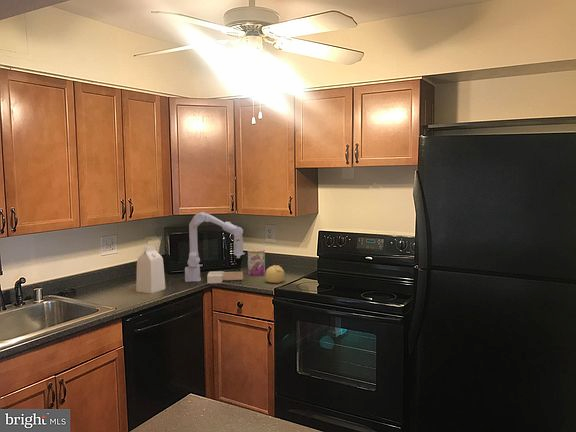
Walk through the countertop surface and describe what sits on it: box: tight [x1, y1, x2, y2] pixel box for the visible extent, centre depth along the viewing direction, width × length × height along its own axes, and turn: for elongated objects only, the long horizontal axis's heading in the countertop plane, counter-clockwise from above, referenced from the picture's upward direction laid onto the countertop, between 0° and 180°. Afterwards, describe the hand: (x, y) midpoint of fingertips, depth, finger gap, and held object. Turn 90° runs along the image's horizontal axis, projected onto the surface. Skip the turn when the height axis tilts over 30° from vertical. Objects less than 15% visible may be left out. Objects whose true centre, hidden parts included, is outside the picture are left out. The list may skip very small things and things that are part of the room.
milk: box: [135, 245, 166, 294], centre depth 274 cm, size 12×12×26 cm
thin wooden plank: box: [221, 271, 244, 281], centre depth 298 cm, size 14×1×5 cm, turn 95°
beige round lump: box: [264, 264, 285, 284], centre depth 291 cm, size 11×12×11 cm
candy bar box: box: [247, 249, 266, 276], centre depth 314 cm, size 11×5×16 cm, turn 84°
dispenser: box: [206, 270, 225, 284], centre depth 297 cm, size 10×14×4 cm
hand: (238, 267), depth 298 cm, fingers open, 7 cm apart
